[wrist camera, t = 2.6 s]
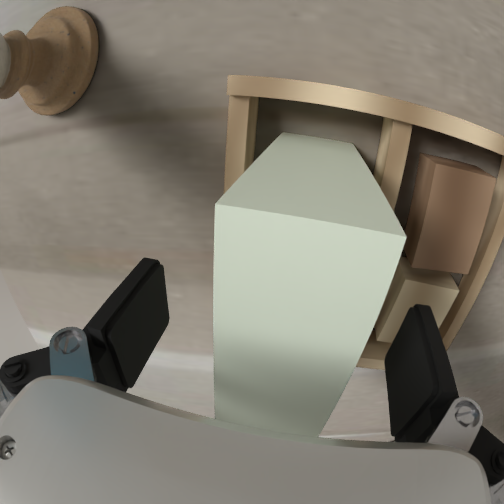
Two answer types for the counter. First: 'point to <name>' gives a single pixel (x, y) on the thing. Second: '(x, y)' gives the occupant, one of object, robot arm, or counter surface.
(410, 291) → the pine offcut
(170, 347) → the counter surface
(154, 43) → the counter surface
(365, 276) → the sage panel
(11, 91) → the candle holder
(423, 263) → the walnut offcut
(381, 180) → the oak rack
